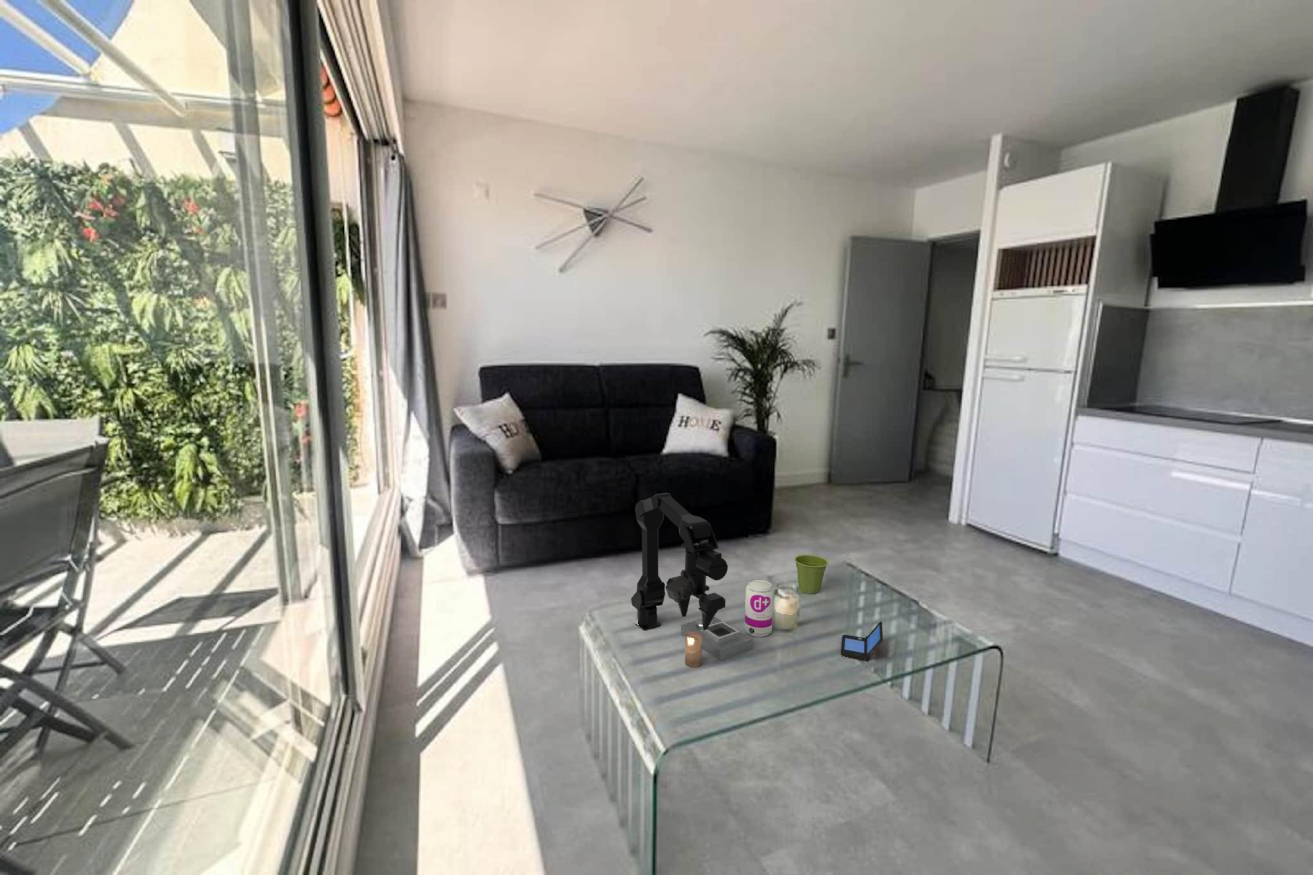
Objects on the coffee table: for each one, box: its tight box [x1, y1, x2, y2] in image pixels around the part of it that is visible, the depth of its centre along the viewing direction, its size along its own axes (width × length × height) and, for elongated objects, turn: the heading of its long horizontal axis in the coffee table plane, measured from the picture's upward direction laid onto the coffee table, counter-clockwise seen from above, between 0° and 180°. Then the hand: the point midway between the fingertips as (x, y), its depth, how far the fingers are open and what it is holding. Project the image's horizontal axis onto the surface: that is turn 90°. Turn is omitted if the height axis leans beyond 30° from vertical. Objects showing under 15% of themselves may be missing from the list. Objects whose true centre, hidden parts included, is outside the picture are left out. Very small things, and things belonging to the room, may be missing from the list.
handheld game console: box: [840, 621, 884, 662], centre depth 165 cm, size 12×11×7 cm
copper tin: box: [684, 632, 703, 669], centre depth 156 cm, size 4×4×8 cm
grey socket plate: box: [680, 616, 754, 661], centre depth 169 cm, size 18×12×4 cm, turn 34°
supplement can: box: [743, 579, 775, 638], centre depth 175 cm, size 8×8×15 cm
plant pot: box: [793, 554, 829, 595], centre depth 207 cm, size 12×12×11 cm
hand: (694, 622), depth 155 cm, fingers open, 9 cm apart
